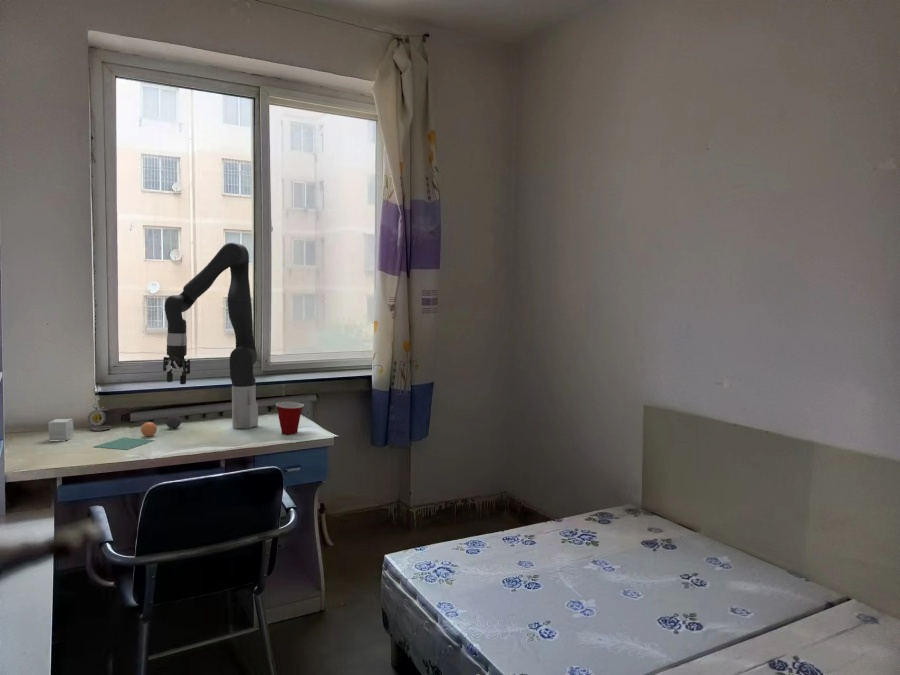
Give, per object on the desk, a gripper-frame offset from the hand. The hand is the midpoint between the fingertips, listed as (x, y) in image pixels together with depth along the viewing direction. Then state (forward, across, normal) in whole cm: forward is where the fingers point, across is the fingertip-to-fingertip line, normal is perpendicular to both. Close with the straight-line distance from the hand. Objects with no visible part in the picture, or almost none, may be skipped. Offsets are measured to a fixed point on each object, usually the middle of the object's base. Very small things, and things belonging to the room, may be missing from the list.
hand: (176, 383), depth 248 cm
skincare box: (+19, +13, +38) cm, 44 cm away
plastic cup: (+16, -50, -15) cm, 55 cm away
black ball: (+15, -5, +4) cm, 16 cm away
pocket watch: (+19, +18, +21) cm, 33 cm away
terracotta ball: (+15, -9, +18) cm, 25 cm away
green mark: (+18, -12, +29) cm, 36 cm away
